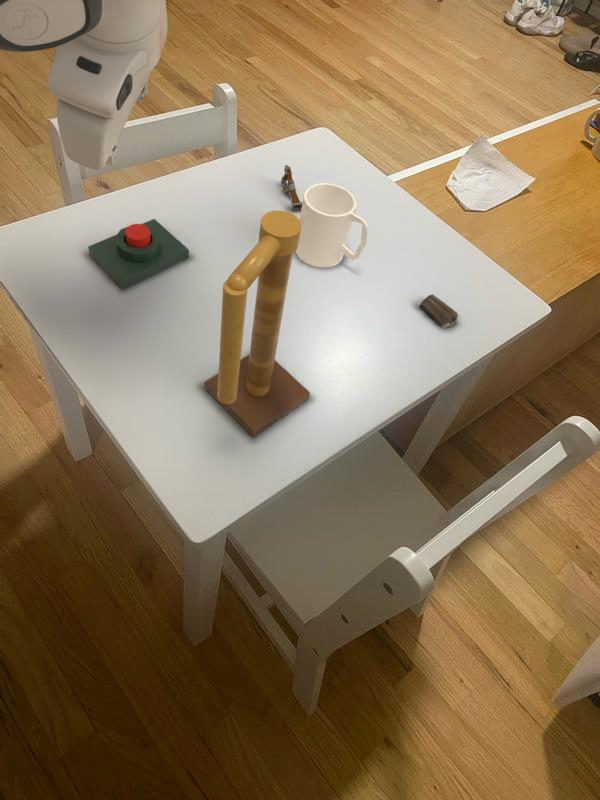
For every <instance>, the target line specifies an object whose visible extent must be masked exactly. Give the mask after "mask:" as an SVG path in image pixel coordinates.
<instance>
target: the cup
mask: <svg viewBox="0 0 600 800" xmlns="http://www.w3.org/2000/svg"><path fill="white" fill-rule="evenodd" d="M302 202H303V203H302ZM302 202H301V203H302V209H300V215H299V220H300V222H301V232H300V238H299V244H298V248H297V250H296V251H295V253H296V256H297V257H298V258H299V259H300V260H301V261H302V262H304V263H305V264H307V265H310V266H312V267H316V268H332V267H334V266H337V265H338V264H339V263H340V262H341V261H342V260H343V258H344V256H346V257H347V258H348V259H350V260H352V261H353V260H357V259H359V258H360V256H361V255H362V253H363V251H364V250H365V247H366V245H367V241H368V232H369V225H368V223H367V222H366V220H365V219H363V218H362V217H360V216H359V215H357V214H356V213H355V212H356V209H357V200H356V197H355V196H354V194H353V193H352V192H351V191H349V190H348V189H346V188H345V187H343V186H340V185H337V184H334V183H326V182H321V183H316V184H313V185H310V186H309V187H307V188H306V190H305V191H304V194H303V198H302ZM353 222H354V223H358V224H361V236H360V243H359V244H358V247H357V249H356V250H355V252H353V251H352V250H351V249H350V248H348V246H347V243H348V239H349V235H350V232H351V226H352V223H353Z"/></svg>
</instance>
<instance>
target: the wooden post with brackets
mask: <svg viewBox="0 0 600 800" xmlns="http://www.w3.org/2000/svg"><path fill="white" fill-rule="evenodd" d="M283 171H284V174H283V176H282V177H281V180H280V183H281V184H283V187H282V190H284V195H287V196H291V201H292V206H291V211H298V210H299V211H301V209H302V203H303V201H300V198H299V196H298V194H297V191H296V190H297V188H296V184H295V180H294V179H293V176H292V175H293V173H292V168H291V166H289V165H288V164H285V165H284V169H283Z"/></svg>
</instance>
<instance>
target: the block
mask: <svg viewBox="0 0 600 800" xmlns="http://www.w3.org/2000/svg"><path fill="white" fill-rule="evenodd" d="M419 307H420V308H421V309H422V310H423V311H424V312H425V313H426V314H427V315H428V316H429V317H430V318H431V319H432V320H433V321H434V322H435V323H436V324H437V325H438V326H439V327H440V328H442V329H443V328H444V329H447V328H451V327H453V326H454V325H455V324H456V323H457V321H458V317H459V315H458V314H459V313H458V312H457V311H456V310H454V309H453V308H452V307H450V306H449V305H448V304H447V303H445V302H444V301H443V300H441V299H440V298H438V297H437V296H436V295H435V294H433V293H431V294H429V295H428V296H427V297H425V298H424V299H423V300H422V301H421V303H420V304H419Z"/></svg>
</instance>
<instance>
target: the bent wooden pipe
mask: <svg viewBox="0 0 600 800" xmlns="http://www.w3.org/2000/svg"><path fill="white" fill-rule="evenodd" d="M300 232H301V222H300V218H299V217H298V216H296V215H295V214H293V213H291V212H288V211H285V210H271V211H268V212H266V213H264V214H263V215H262V217H261V219H260V225H259V234H258V242H257V243H256V244H255V245H254V247H253V248H252V249H251V250H250V251H249V252H248V254H247V255H246V256H245V257H244V258H243V259H242V261H241V262H240V263H239V264H238V265H237V267H236V268H234V270H233V271H232V272H231V274H230V275H229V276H228V278H227V279H226V280H225V281H224V283H223V284H222V299H221V300H222V301H221V317H220V318H221V319H220V335H219V336H220V339H219V355H218V373H219V374H218V373H217V374H218V393H217V397H218V400H219V401H220V402H221V403H223V404H232V403H233V402H235V401H236V399H237V391H238V381H239V370H240V360H241V359H242V349H243V339H244V330H245V329H244V327H245V319H246V309H247V299H248V289H249V288H250V287H251V286H252V284H254V282H255V281H256V280H257V279H258V277H259V275H260V273H261V272H262V271H263V270H264V268H265V267H266V266H267V265H268V263H269V262H270V261H271V260H272V259H273V257H274V256H275V255H276V256H286V255H290V254H292V253H293V254H294V253H296V250H297V248H298V244H299V238H300Z"/></svg>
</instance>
